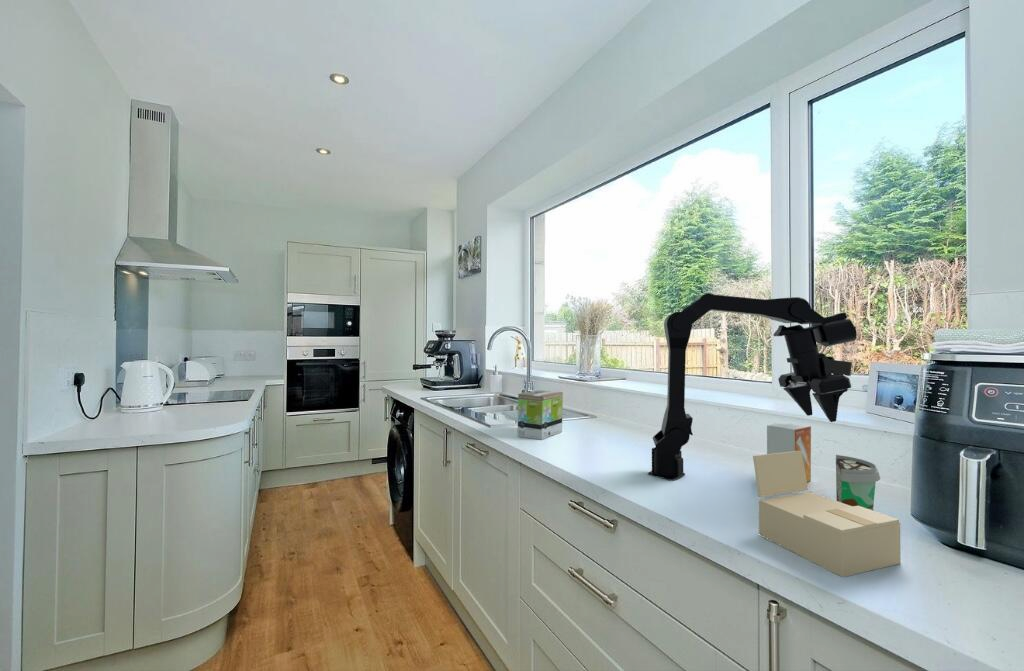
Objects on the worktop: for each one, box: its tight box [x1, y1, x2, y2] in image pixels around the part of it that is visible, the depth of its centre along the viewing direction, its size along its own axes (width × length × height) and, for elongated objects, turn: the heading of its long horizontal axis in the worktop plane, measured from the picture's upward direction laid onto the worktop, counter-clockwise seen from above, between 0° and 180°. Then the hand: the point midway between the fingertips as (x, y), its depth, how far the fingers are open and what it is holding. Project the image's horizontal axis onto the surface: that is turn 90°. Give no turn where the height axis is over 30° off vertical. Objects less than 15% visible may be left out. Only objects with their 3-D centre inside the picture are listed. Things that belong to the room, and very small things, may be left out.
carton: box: [758, 491, 902, 578], centre depth 71 cm, size 14×12×7 cm
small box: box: [766, 421, 812, 483], centre depth 104 cm, size 8×6×13 cm
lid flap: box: [752, 451, 809, 498], centre depth 79 cm, size 7×11×1 cm
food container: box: [835, 454, 881, 511], centre depth 83 cm, size 12×6×10 cm, turn 148°
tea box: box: [517, 389, 564, 441], centre depth 155 cm, size 15×10×15 cm, turn 147°
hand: (821, 418), depth 101 cm, fingers open, 9 cm apart
